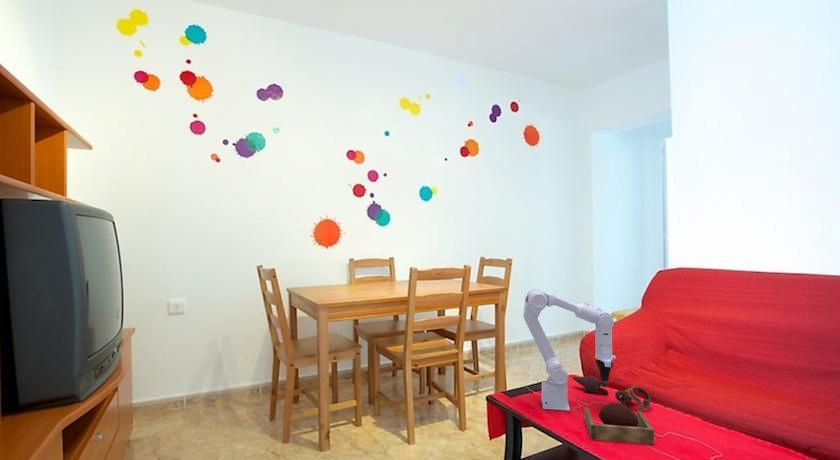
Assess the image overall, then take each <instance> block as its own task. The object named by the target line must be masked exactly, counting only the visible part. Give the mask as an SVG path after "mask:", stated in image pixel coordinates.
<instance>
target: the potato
mask: <svg viewBox="0 0 840 460" xmlns="http://www.w3.org/2000/svg"><path fill="white" fill-rule="evenodd" d="M598 418H599V420H600V421H601V422H602V424H604V425H617V426H630V427H639V426H638V418H637V413H635V412H634V410H633V409H631V408H630V407H629V406H627V405H626V404H624V405H623V404H621V402H615V401H614V402H610V403H606V404H605V405H603V406H602V407H601V408H600V410H599V411H598Z"/></svg>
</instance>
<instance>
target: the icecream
mask: <svg viewBox="0 0 840 460" xmlns="http://www.w3.org/2000/svg"><path fill="white" fill-rule="evenodd" d="M571 379H572V380H573V381H575V383H578V384H579V385H580V386H582V387H583V388H584V390H585V391H586V392H591V393H596V392H599V393H601V394H602V395H604V396H605V395H606V396H607V395H609V391H608V390H607V389H605V388H607V387H609V384H608V381H602V380H601V381H600V380H599V378H598V377H596V376H594V375H592V374H589V375H587V376H572V377H571Z"/></svg>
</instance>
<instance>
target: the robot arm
mask: <svg viewBox="0 0 840 460" xmlns="http://www.w3.org/2000/svg"><path fill="white" fill-rule="evenodd" d="M553 306H556V307H559V308H562V309H563V310H567V311H570V312H573V313H574V315H575V317H577V318H578V319H580V320H583V321H586V322H588V323H591V324H595V330H594V331H595V333H594V335H595V339H594V341H595V342H594V343H595V346H594V347H595V354H594V357H595V363H596V365H597V368H598V372H599V377H600V380H601V381H606V382H608V381H609V377H610V373H611V370H612V368H613V366H614V363H613V360H616V359H617V357H616V355H613V330H612V328H613V327H614V324H615V320H614V317H613V315H611V314H610V313H609V312H607V311H604V310H603V309H601V308H600V307H597V308H596V307H594V306H591V305H590V303H588V302H580V303H575V302H572V301H570V300H567V299H565V298H563V297H561V296H558V295H556V294H554V293H550V292H547V291H544V290H543V291H541V290H539V289H535V288H534V289H533V288H532V289H530V290H529V291H528V292H527V294H526V296H525V298H524V306H523V307H524V308H523V317H522V318H523V320H524V321H525V324H526V325H527V328H528V329H529V332H530V334H531V336H532V337H533V340H534V342H535V344H536V346H537V348H538V351H539V352H540V354H541V356H542V358H543V361H544V363H545V366H546V368H545V370H546V373H547V375H548V377H547V379H546V380H545V381H544V380H543V381H541V396H540V401H541V404H542V409H543V410H554V411H555V410H557V411H570V410H571V409H570V406H569V401H568V380H569V373H568V372H567V370H566V369H565V368H564V367H563V365H562V363H561V362H560V361H559V360H558V358H557V356H556V354H555V352H554V350H553V348H552V345H551V344H550V342H549V339H548V337H547V335H546V333H545V331H544V329H543V327H542V325H541V323H540V321H539V319H538V318H539V317H540V315H541V312H542V311H543V310H544V309H545V308H547V307H553Z"/></svg>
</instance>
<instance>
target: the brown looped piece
mask: <svg viewBox="0 0 840 460" xmlns="http://www.w3.org/2000/svg"><path fill="white" fill-rule="evenodd" d="M635 390H636V391H637V393H638V394H641V395H644V396H645V399H643V400H642V399H641V398H640V397H639V396H637V395H636V393H635V392H634V391H635ZM620 396H621V397H620ZM614 397H615V399H616V400H617V401H618V402H619V403H621V404H623V405H626V401H627V402H629V403H631V402H632V401H634V402H635V403H636V404H638V407H637V411H641V412H643V411H644V410H645V409H647V408H649V407H650V405H651V396H650V394H649V393H648V392H647V391H646V390H645V389H644V388H641V387H639V386H637V385H636V386H635V385H632V386H631V387H630V388H626V389H625V390H621V389H620V390H617V391H615V394H614ZM642 401H643V402H642Z"/></svg>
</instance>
